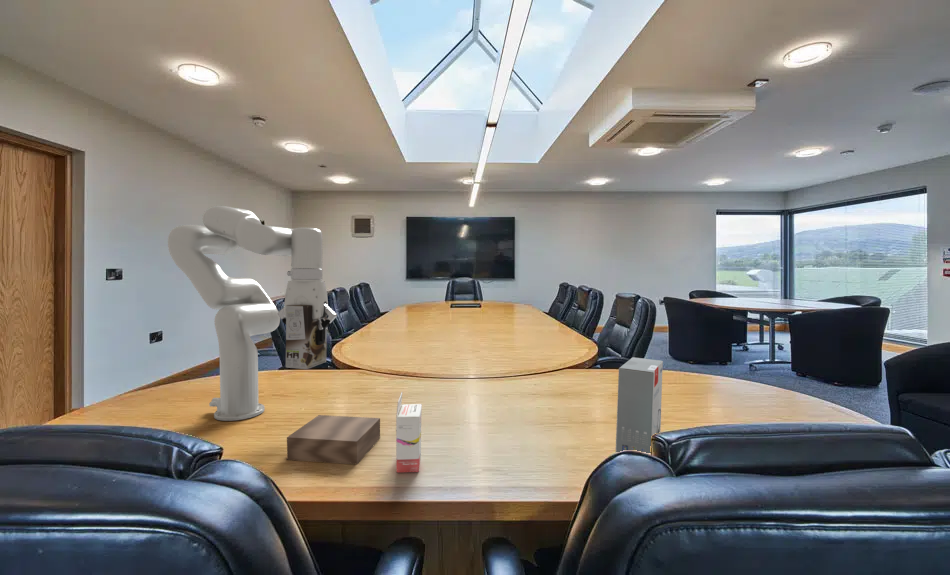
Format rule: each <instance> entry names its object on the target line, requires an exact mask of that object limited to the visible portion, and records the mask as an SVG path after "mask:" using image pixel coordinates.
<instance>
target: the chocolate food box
mask: <svg viewBox="0 0 950 575" xmlns="http://www.w3.org/2000/svg"><path fill="white" fill-rule="evenodd" d="M327 318H328V316H327V317H325V318H324V319H325V320H326V319H327ZM316 330H318V327H317V325H316V320H313V319H312V305H286V325H285V368H288V369H289V368H290V369H297V370H298V369H300V370H308V369H312V368H314V367H316V366H319V365H321V364H324V363H327V347H328V346H327V345H328V344H327V338H328V337H327V336H328V335H327V331H328V327H327V328H326V329H325V341H324V344H321V345H316Z"/></svg>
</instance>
